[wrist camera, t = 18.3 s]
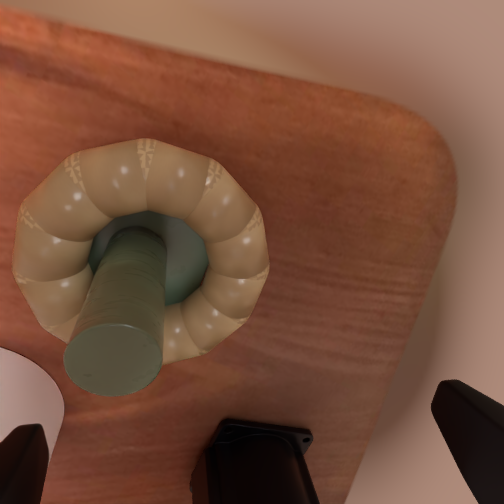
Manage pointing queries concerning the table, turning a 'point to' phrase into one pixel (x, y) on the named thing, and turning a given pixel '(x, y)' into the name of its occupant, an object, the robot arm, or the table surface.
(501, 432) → the robot arm
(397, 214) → the table surface
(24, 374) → the bracket
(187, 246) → the stand
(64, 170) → the segmented ring
